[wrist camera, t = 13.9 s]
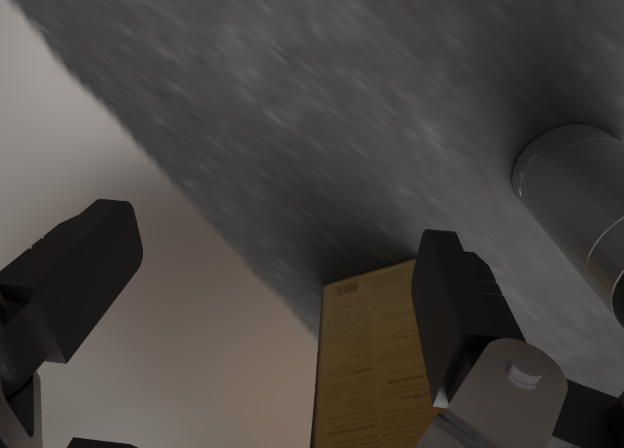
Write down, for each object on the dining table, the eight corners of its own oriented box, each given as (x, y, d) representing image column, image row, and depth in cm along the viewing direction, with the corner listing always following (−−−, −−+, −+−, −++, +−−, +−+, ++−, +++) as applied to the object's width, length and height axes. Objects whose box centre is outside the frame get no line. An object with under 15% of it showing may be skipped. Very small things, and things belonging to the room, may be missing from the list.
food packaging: (347, 332, 52) (345, 566, 31) (319, 284, 48) (295, 517, 27) (443, 308, 48) (516, 556, 27) (422, 253, 44) (489, 497, 23)
